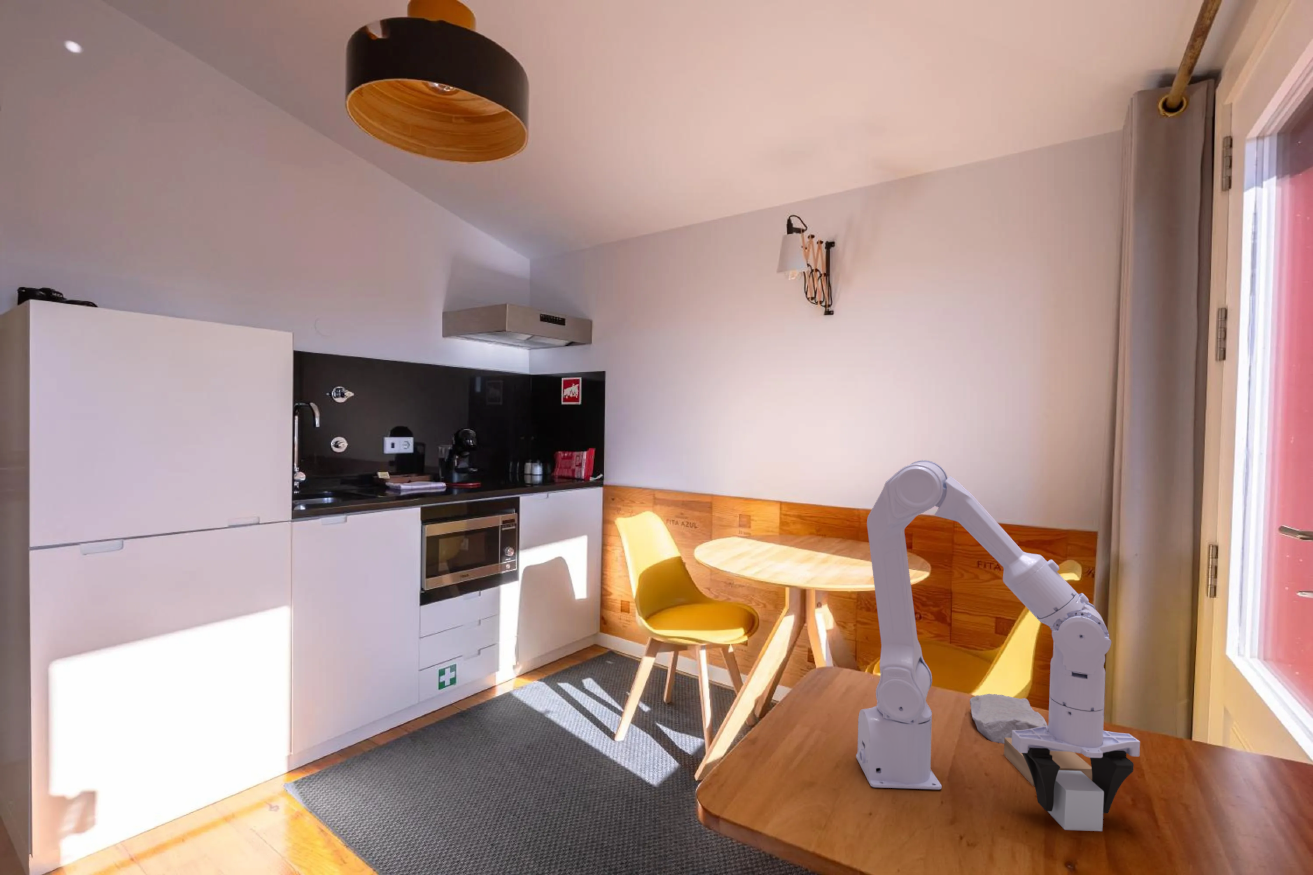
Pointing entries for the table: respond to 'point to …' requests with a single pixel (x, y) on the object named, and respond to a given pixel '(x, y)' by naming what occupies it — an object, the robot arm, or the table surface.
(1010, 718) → the stone block
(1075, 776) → the light grey block
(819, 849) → the table surface
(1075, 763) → the tan square block
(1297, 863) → the table surface
